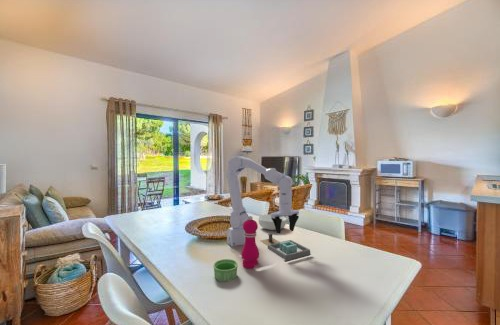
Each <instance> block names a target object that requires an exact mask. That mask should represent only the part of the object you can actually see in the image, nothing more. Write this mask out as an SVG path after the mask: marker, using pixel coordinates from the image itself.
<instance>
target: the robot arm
mask: <svg viewBox="0 0 500 325" xmlns="http://www.w3.org/2000/svg"><path fill="white" fill-rule="evenodd" d="M227 164H228V165H227V169H226V179H227V186H228V191H229V192H228V193H229V195H230V202H231V211H230V219H229V223H230V225H231V227H228V228H227V230H226V242H227V243H226V244H227V245H228V246H230V248H232V247H236V246H244V245H245V236H244V232H245V231H244V229H243V223H244V222H245V221H246V220H248V217H249V216H250V215H249V214H248V212H247V210H246V208H245V207H244V205H243V198H242V195H241V194H242V193H241V189H240V182H239V177H238V176H239V175H240V173H241V172H242V171H243V170H244V169H251V170H254V171H255V172H258V173H259V174H262V175H263V176H264V179H265V180H267V181H269V182H271V183H272V184H273V185H276V186H277V187H278V188H279V194H278V200H279V202H278V207H279V208H278V210H277V211H275V212H271V213H270V215H271V218H272V220H273V222H274V225H275V228H276V230H275V231H276V233H277V234H281V231H282V230H281V222H282V219H280V218H279V217H288V225H289V226H288V228H289V230H290V231H291V232H294V230H295V226H296V224H297V221H298V220H299V215H300V210H298V209H292V206H293V203H292V202H293V199H292V198H293V197H292V196H293V193H292V192H293V189H292V188H293V187H292V186H293V184H294V180H293V178H292V177H290V175H285V173H282V172H279V171H278V170H277V169H276V168H275V167H269V168H267V167H266V166H263V165H261V164H259V163H258V162H257V161H255V160H253V159H252V158H249V157H246V156H245V155H241V156H238V155H235V156H234V155H233V156H231V158H230V159H229V160H228V162H227Z"/></svg>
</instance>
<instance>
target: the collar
mask: <svg viewBox="0 0 500 325" xmlns="http://www.w3.org/2000/svg"><path fill="white" fill-rule="evenodd" d="M285 241H286V242H283V241H281V242H282V243H280V247H279V251H280V252H282V253H284V254H285V255H287V254H291V253H295V252H298V248H297V245H296V244H294V243H292V242H290V241H288V240H285Z"/></svg>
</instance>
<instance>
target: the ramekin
mask: <svg viewBox="0 0 500 325" xmlns="http://www.w3.org/2000/svg"><path fill="white" fill-rule="evenodd" d="M238 267H239V264H238V262H237V261H236V260H234V259H231V258H225V259H220V260H217V261H215V262H214V263H213V266H212V268H213V272H214V273H213V274H214V278H215V279H216V280H217V281H219V282H230V281H233V280H235V279H236V278H237V272H238Z"/></svg>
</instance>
